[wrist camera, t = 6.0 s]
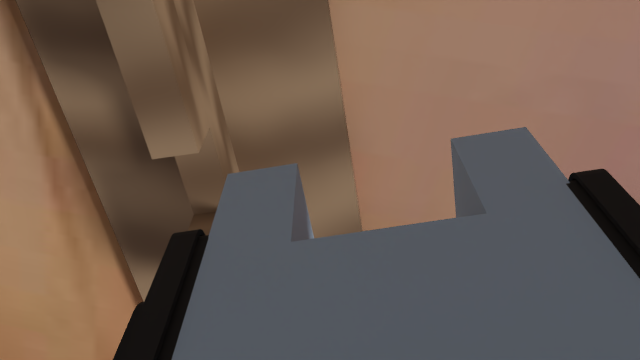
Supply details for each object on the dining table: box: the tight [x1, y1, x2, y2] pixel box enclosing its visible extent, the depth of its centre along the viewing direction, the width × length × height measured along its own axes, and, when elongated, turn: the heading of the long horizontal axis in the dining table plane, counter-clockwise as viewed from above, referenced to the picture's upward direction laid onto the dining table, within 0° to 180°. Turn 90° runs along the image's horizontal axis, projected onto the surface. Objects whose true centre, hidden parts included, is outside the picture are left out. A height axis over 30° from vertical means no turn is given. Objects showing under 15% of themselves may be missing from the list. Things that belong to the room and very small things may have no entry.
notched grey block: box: [172, 127, 640, 360], centre depth 9 cm, size 7×3×8 cm, turn 100°
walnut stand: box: [16, 0, 362, 301], centre depth 27 cm, size 24×14×6 cm, turn 9°
